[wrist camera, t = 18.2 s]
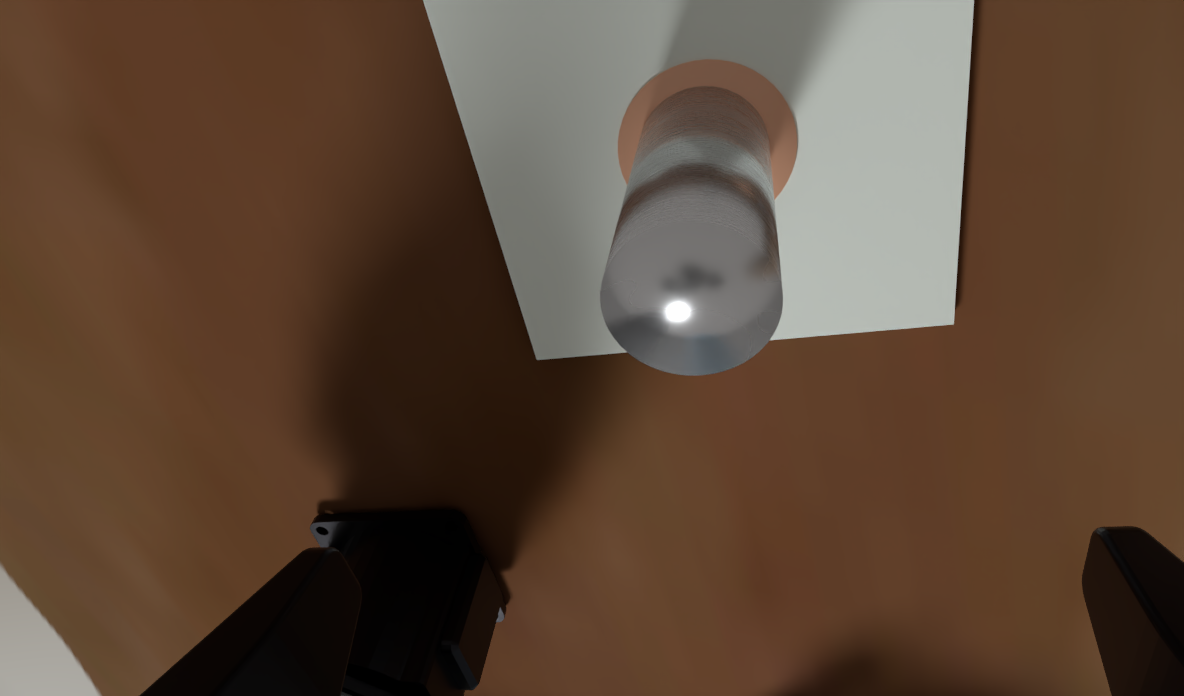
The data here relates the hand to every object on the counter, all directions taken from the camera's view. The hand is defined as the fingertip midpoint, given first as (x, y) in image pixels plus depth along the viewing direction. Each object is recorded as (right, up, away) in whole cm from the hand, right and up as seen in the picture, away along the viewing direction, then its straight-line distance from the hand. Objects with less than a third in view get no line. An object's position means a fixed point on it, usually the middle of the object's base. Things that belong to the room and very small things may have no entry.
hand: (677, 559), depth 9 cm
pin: (+2, +7, +10) cm, 13 cm away
